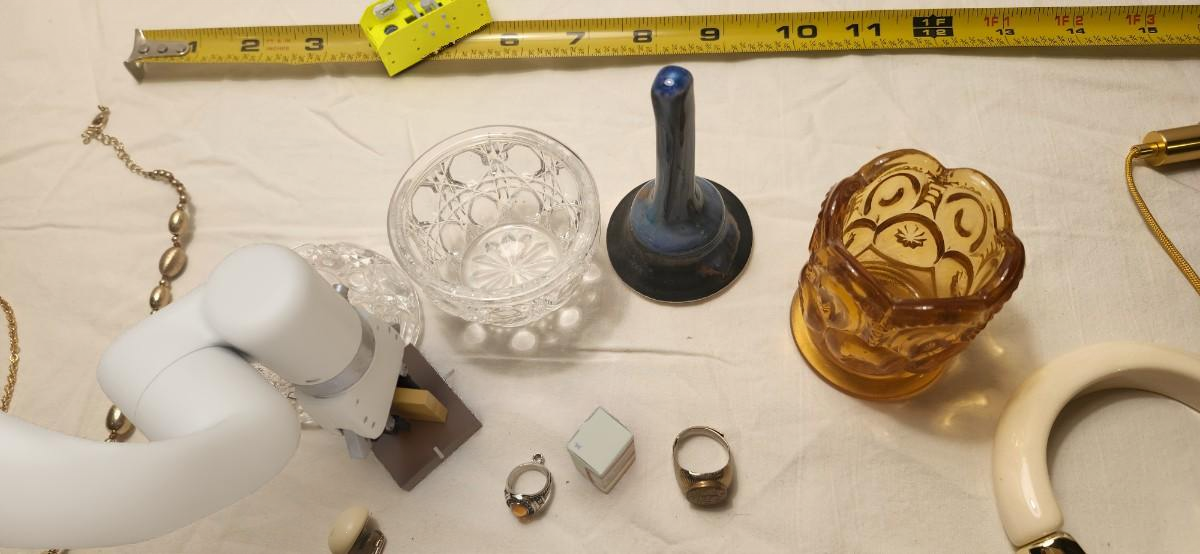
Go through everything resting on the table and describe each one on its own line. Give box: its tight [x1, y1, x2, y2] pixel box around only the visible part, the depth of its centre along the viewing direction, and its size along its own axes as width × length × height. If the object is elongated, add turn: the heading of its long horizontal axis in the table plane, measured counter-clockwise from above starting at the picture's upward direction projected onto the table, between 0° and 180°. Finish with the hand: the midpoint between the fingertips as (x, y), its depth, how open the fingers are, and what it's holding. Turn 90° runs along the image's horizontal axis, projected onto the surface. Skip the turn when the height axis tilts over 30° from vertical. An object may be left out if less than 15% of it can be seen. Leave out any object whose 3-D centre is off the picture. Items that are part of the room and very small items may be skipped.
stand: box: [370, 342, 483, 493], centre depth 79 cm, size 13×13×3 cm
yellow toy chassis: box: [358, 0, 493, 77], centre depth 99 cm, size 16×6×8 cm, turn 123°
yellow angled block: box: [389, 387, 448, 423], centre depth 74 cm, size 9×1×7 cm, turn 82°
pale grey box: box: [565, 405, 637, 495], centre depth 72 cm, size 5×4×10 cm
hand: (400, 407), depth 76 cm, fingers open, 3 cm apart
